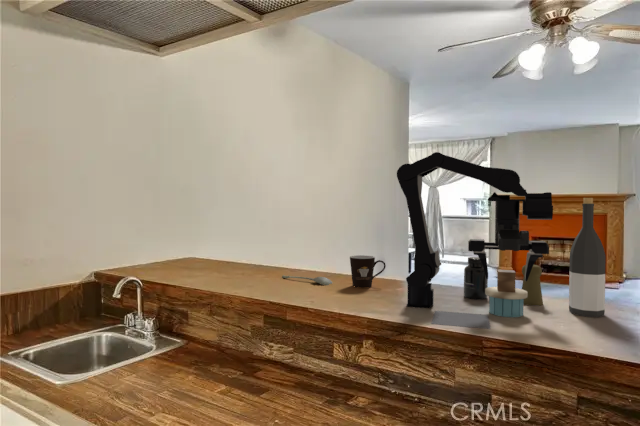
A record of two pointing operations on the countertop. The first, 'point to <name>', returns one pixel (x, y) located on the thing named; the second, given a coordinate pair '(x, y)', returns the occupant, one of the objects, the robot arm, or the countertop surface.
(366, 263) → the coffee mug
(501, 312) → the ceramic bowl
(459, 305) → the countertop surface
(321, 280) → the soupspoon
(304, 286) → the countertop surface
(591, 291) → the wine bottle
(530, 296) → the cork
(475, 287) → the supplement bottle
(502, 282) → the wooden lid
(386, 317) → the countertop surface
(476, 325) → the rubber mat
